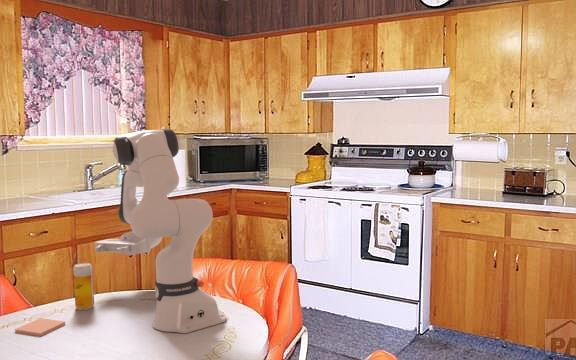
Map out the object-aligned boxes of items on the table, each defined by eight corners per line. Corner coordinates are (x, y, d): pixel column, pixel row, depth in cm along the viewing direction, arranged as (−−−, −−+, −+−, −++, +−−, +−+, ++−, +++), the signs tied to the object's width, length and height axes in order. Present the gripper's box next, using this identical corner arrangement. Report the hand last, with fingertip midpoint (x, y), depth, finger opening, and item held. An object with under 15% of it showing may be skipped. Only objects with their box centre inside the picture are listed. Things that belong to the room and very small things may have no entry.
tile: (40, 317, 174) (14, 329, 165) (65, 321, 171) (40, 333, 161) (40, 322, 174) (15, 333, 165) (65, 325, 171) (40, 337, 161)
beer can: (75, 305, 188) (73, 263, 186) (94, 303, 190) (92, 261, 188) (75, 311, 182) (72, 267, 181) (94, 309, 184) (92, 266, 183)
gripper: (108, 234, 212) (83, 240, 199) (152, 235, 204) (129, 243, 191) (109, 250, 212) (84, 257, 199) (153, 252, 205) (130, 260, 192)
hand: (107, 250), depth 195 cm, fingers open, 8 cm apart
